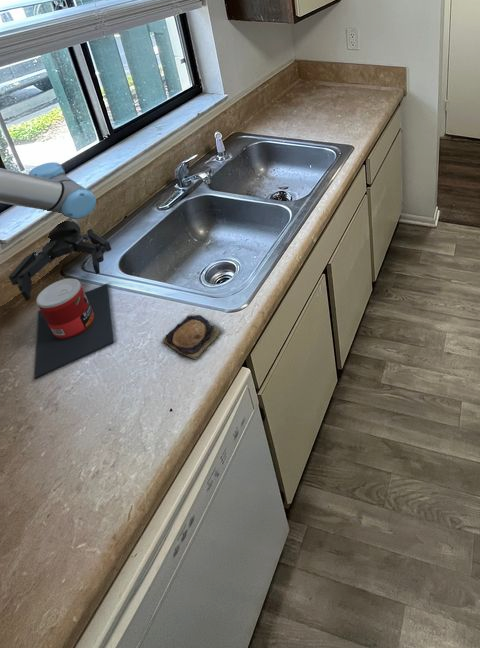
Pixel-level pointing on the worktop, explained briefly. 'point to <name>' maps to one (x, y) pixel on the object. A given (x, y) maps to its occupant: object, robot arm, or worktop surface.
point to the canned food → (65, 308)
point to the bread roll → (192, 336)
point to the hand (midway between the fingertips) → (62, 282)
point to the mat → (68, 350)
